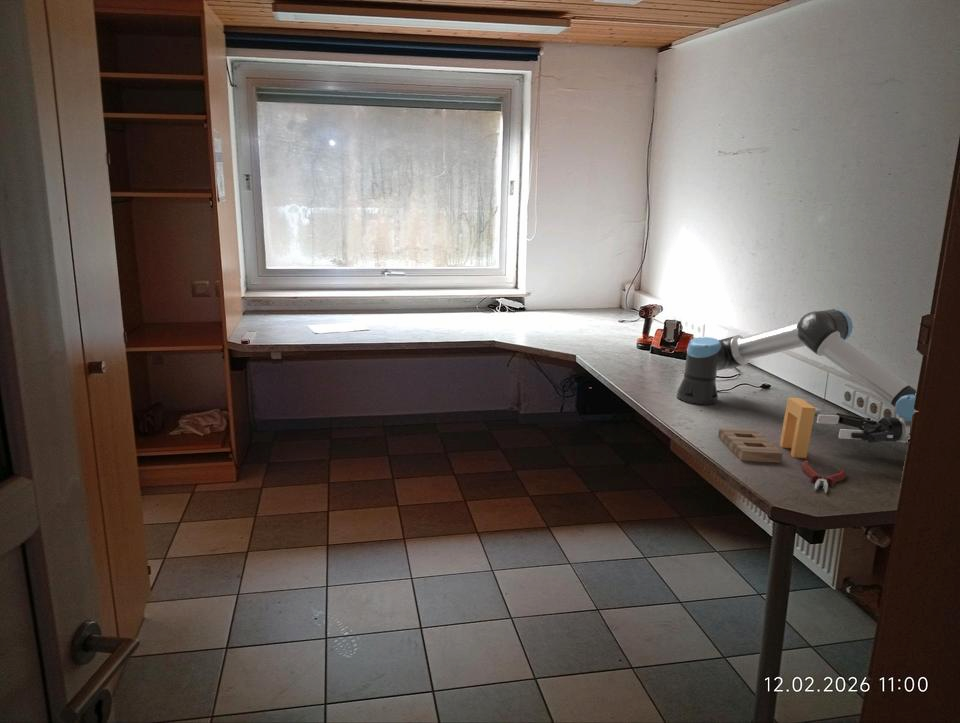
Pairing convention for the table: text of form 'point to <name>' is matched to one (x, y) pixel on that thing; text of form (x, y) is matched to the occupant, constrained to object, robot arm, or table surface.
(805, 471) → the pliers
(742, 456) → the wooden slotted board
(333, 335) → the table surface
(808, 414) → the orange arch-shaped block
